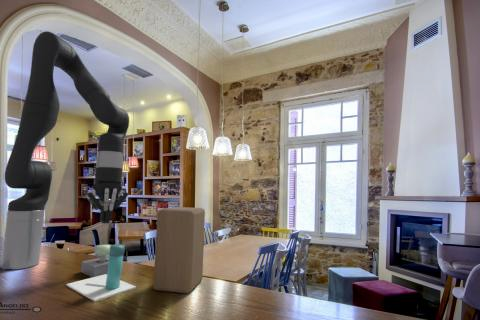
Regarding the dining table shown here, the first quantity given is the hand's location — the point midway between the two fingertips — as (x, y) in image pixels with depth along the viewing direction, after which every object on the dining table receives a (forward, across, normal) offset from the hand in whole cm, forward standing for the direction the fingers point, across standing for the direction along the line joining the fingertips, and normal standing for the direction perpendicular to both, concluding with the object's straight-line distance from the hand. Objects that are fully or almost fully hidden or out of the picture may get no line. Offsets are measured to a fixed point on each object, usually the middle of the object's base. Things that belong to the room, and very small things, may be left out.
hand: (105, 223), depth 78 cm
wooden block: (+15, -7, +26) cm, 31 cm away
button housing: (+14, 0, 0) cm, 14 cm away
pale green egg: (+12, 0, 0) cm, 12 cm away
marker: (+14, +5, +15) cm, 21 cm away
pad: (+14, +6, +12) cm, 20 cm away
